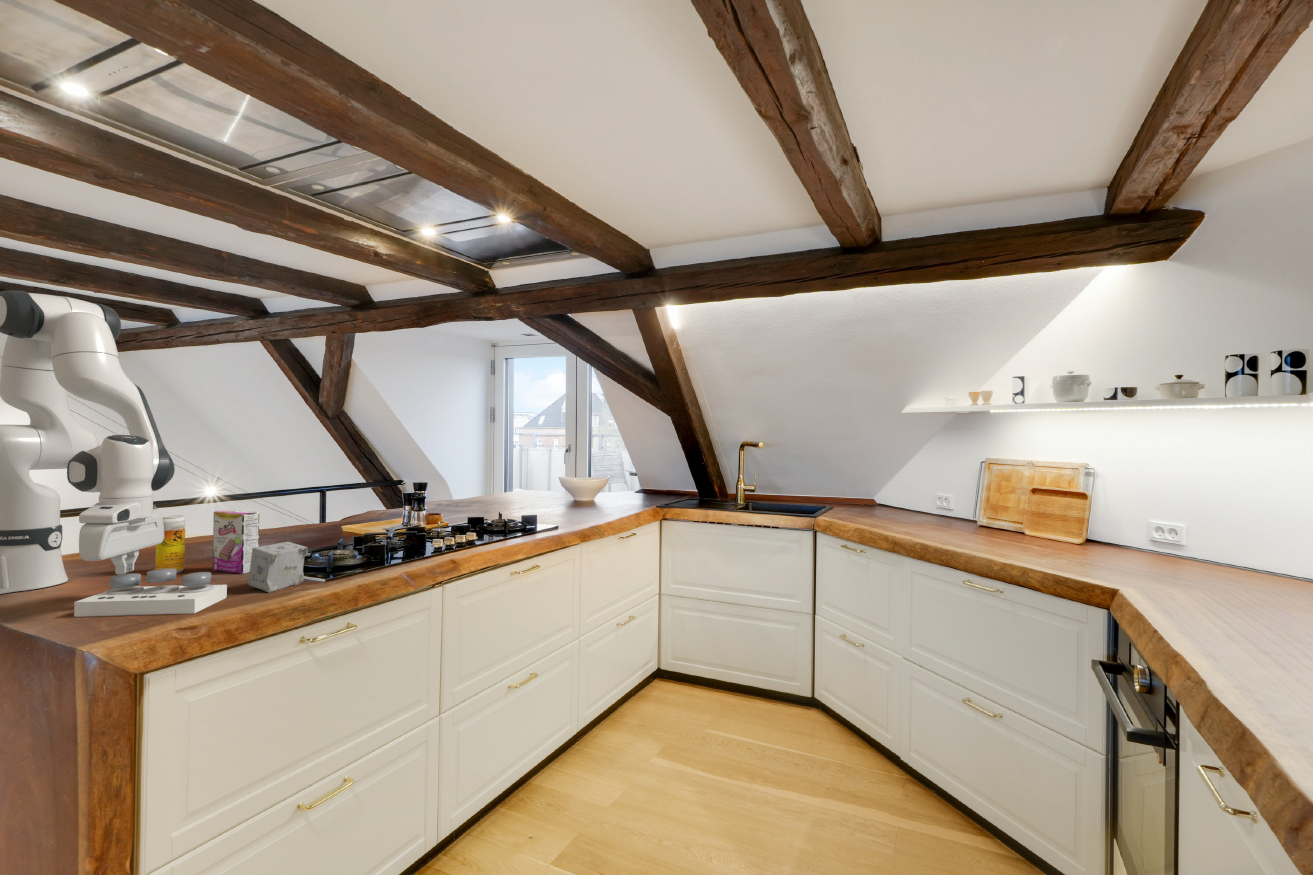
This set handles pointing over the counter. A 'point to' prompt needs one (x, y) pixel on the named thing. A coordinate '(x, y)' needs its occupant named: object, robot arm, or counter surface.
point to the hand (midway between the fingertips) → (124, 572)
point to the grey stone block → (277, 566)
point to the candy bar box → (234, 540)
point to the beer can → (172, 544)
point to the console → (150, 600)
